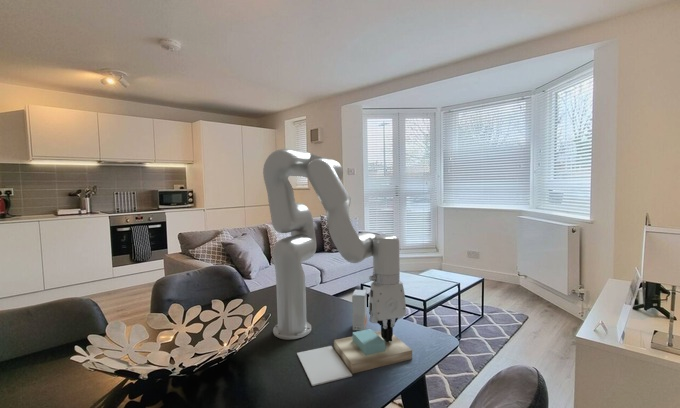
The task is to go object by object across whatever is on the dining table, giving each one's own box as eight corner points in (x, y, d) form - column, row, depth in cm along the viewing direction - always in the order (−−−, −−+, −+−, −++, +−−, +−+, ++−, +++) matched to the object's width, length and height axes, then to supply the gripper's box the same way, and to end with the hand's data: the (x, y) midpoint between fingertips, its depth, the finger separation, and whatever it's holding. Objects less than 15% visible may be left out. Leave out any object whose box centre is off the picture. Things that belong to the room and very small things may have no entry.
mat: (297, 354, 94) (296, 352, 94) (331, 346, 97) (331, 345, 97) (312, 386, 79) (312, 384, 79) (352, 376, 83) (352, 374, 83)
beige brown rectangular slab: (334, 348, 97) (333, 340, 97) (387, 336, 103) (387, 329, 103) (352, 373, 84) (352, 364, 83) (412, 358, 90) (412, 350, 90)
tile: (352, 340, 96) (352, 332, 96) (370, 336, 98) (370, 328, 98) (365, 355, 88) (365, 346, 87) (385, 350, 90) (385, 342, 90)
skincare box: (365, 331, 107) (364, 295, 106) (352, 330, 108) (351, 295, 107) (367, 323, 113) (366, 289, 112) (355, 322, 114) (354, 289, 113)
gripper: (368, 285, 88) (369, 350, 89) (415, 278, 93) (416, 340, 94) (357, 277, 95) (358, 338, 96) (401, 271, 100) (402, 329, 101)
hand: (386, 339), depth 95 cm, fingers closed
